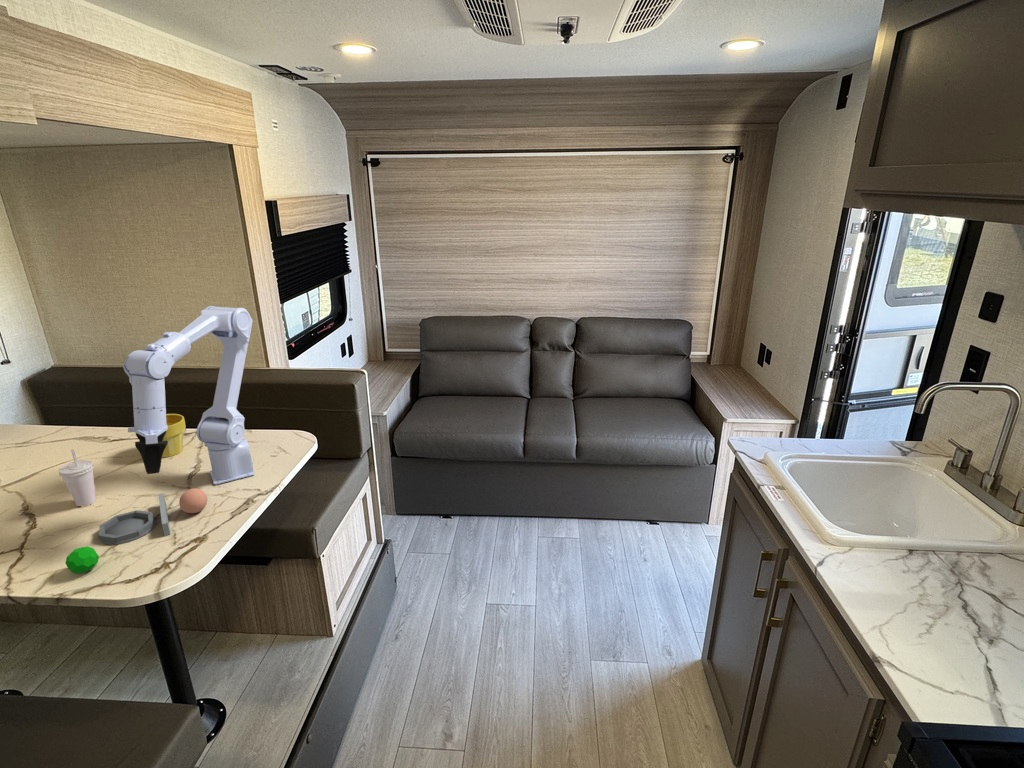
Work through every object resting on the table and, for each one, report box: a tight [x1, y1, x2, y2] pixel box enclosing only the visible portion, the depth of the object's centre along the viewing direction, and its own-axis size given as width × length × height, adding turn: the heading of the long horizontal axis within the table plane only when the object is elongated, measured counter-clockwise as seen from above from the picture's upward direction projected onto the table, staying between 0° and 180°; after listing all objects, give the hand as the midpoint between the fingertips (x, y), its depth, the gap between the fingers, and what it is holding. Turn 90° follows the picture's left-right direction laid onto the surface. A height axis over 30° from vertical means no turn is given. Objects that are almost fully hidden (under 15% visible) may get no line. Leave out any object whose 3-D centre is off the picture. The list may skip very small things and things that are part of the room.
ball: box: [178, 488, 209, 514], centre depth 122 cm, size 6×6×6 cm
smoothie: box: [57, 449, 97, 507], centre depth 123 cm, size 6×6×14 cm
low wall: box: [158, 493, 171, 537], centre depth 119 cm, size 1×14×3 cm, turn 35°
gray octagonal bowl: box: [98, 509, 157, 546], centre depth 116 cm, size 10×10×2 cm
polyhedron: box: [65, 546, 100, 575], centre depth 103 cm, size 5×5×5 cm
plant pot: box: [162, 413, 187, 458], centre depth 148 cm, size 10×10×10 cm
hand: (152, 467), depth 115 cm, fingers open, 7 cm apart
